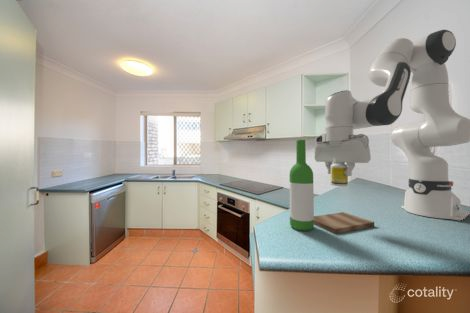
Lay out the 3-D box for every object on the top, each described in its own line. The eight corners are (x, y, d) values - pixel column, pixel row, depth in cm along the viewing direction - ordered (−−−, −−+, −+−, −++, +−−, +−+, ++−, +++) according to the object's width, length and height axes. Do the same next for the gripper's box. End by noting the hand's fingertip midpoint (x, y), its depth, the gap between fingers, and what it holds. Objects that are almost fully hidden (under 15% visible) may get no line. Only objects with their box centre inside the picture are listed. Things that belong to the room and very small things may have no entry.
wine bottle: (307, 222, 66) (306, 141, 66) (318, 231, 58) (317, 138, 59) (286, 223, 66) (285, 141, 66) (294, 232, 58) (294, 138, 58)
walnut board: (343, 215, 74) (343, 212, 74) (374, 226, 62) (374, 222, 62) (307, 221, 68) (307, 217, 68) (334, 233, 57) (334, 229, 57)
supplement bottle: (350, 186, 62) (350, 158, 62) (333, 186, 63) (333, 158, 63) (344, 184, 67) (344, 158, 67) (328, 184, 68) (328, 158, 68)
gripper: (375, 133, 56) (375, 177, 56) (323, 139, 76) (323, 172, 76) (360, 132, 54) (361, 178, 54) (311, 139, 74) (311, 173, 74)
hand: (339, 175), depth 65 cm, fingers closed on supplement bottle, 5 cm apart
